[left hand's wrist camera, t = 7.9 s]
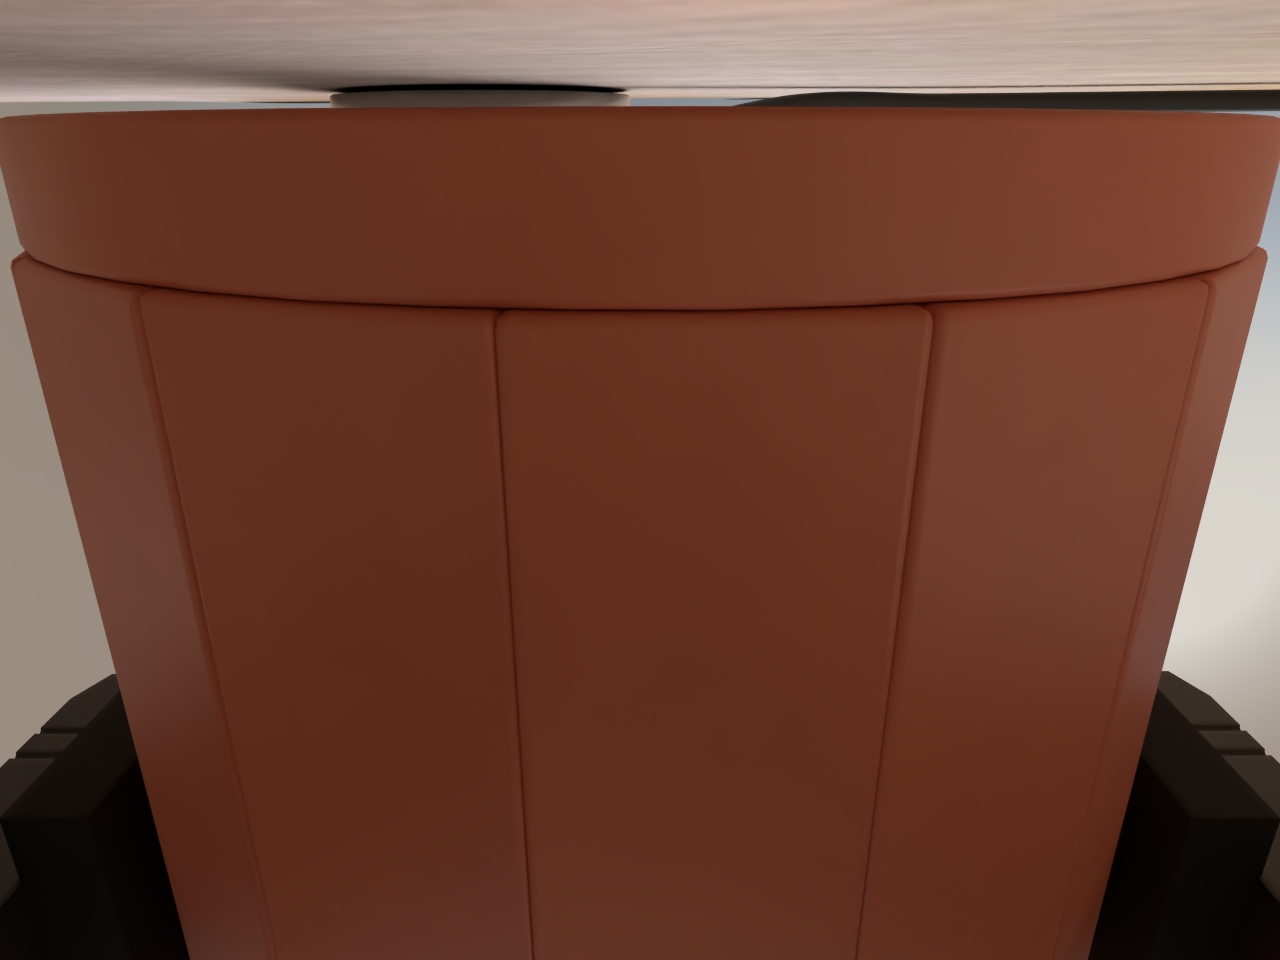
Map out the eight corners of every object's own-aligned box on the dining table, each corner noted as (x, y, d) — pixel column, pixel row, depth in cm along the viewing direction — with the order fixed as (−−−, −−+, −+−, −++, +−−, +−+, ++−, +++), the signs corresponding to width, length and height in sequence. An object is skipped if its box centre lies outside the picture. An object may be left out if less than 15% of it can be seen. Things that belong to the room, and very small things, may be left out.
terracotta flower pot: (1853, 109, 4) (1203, 1496, 8) (947, 129, 12) (869, 777, 16) (-636, 103, 3) (109, 1613, 7) (267, 130, 12) (364, 802, 16)
